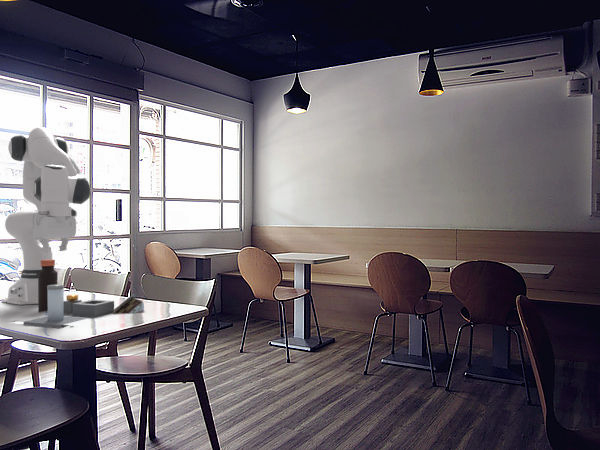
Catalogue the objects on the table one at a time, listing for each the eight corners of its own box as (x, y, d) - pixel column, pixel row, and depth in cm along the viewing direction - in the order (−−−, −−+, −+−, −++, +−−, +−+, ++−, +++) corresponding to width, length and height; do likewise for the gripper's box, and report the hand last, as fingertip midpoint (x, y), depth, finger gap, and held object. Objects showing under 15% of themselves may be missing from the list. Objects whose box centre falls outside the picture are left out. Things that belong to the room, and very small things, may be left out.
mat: (23, 324, 175) (23, 321, 175) (51, 318, 186) (51, 315, 186) (60, 328, 169) (60, 325, 169) (86, 321, 180) (86, 318, 180)
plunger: (64, 310, 193) (64, 296, 193) (72, 308, 197) (72, 294, 196) (72, 311, 191) (72, 296, 191) (80, 309, 195) (80, 295, 195)
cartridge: (44, 320, 177) (44, 285, 177) (59, 317, 181) (59, 284, 181) (51, 322, 174) (51, 286, 174) (66, 319, 178) (66, 285, 178)
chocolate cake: (125, 319, 186) (145, 294, 193) (110, 313, 189) (131, 287, 196) (133, 332, 194) (152, 307, 200) (119, 326, 196) (138, 301, 203)
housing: (45, 316, 188) (45, 303, 188) (77, 309, 203) (77, 297, 203) (93, 321, 181) (93, 307, 181) (123, 313, 196) (123, 300, 196)
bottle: (35, 313, 195) (35, 260, 195) (41, 310, 202) (41, 259, 202) (55, 312, 197) (54, 260, 196) (59, 309, 203) (59, 259, 203)
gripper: (45, 211, 166) (45, 253, 166) (79, 211, 187) (79, 249, 187) (27, 211, 167) (27, 253, 167) (63, 211, 187) (63, 249, 188)
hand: (55, 251), depth 177 cm, fingers open, 8 cm apart
